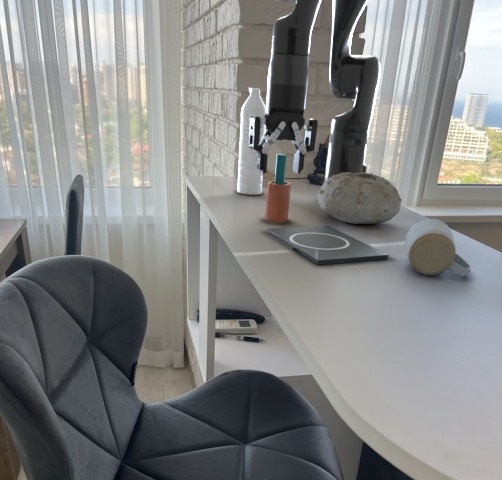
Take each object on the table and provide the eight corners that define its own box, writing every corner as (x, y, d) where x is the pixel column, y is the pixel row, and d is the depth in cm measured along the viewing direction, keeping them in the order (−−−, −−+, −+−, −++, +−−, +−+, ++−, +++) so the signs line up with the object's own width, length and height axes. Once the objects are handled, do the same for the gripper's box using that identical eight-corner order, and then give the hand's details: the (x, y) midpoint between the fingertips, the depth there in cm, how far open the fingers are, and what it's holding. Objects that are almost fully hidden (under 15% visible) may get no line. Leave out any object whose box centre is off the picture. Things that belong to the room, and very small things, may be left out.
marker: (278, 217, 108) (283, 153, 102) (282, 220, 106) (288, 155, 101) (269, 218, 107) (275, 153, 102) (274, 220, 106) (279, 155, 100)
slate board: (327, 229, 104) (328, 225, 103) (387, 259, 87) (388, 254, 87) (266, 232, 98) (266, 228, 98) (317, 265, 82) (318, 259, 82)
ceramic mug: (403, 274, 80) (414, 226, 77) (400, 259, 87) (410, 215, 84) (472, 284, 79) (486, 236, 75) (464, 268, 86) (476, 223, 82)
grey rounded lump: (411, 232, 106) (421, 183, 102) (333, 232, 102) (340, 181, 97) (373, 212, 121) (380, 168, 117) (303, 211, 117) (308, 166, 113)
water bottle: (262, 195, 131) (270, 89, 120) (237, 194, 131) (242, 87, 120) (259, 189, 139) (266, 88, 128) (236, 188, 139) (240, 87, 128)
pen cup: (281, 218, 110) (284, 180, 107) (291, 223, 106) (295, 184, 103) (261, 219, 108) (263, 180, 105) (270, 224, 104) (273, 185, 101)
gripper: (261, 80, 90) (255, 176, 97) (330, 85, 95) (319, 176, 102) (245, 79, 96) (240, 170, 103) (310, 84, 101) (302, 170, 109)
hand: (280, 172), depth 103 cm, fingers open, 7 cm apart
